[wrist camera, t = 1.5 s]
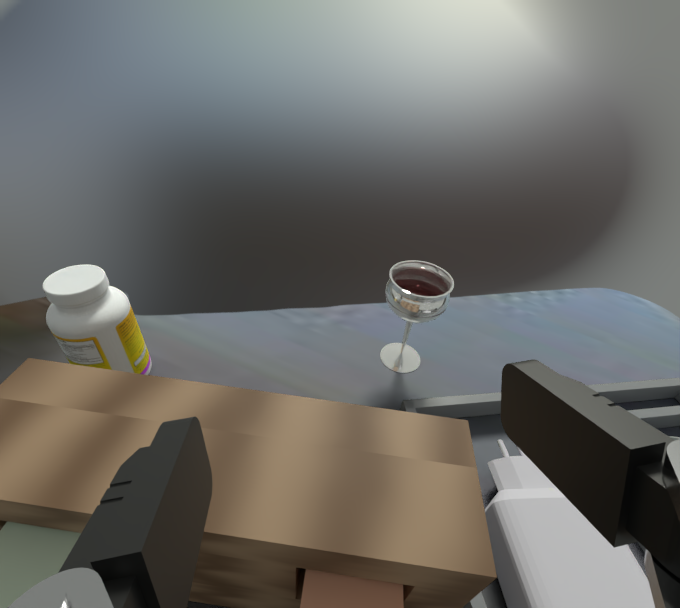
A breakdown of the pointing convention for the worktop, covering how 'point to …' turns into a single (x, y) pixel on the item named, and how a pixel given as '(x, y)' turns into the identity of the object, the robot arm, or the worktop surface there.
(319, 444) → the panel
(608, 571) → the charger
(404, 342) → the wineglass
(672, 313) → the worktop surface
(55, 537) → the button sage
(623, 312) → the worktop surface
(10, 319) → the worktop surface
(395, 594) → the button terracotta
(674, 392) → the counter rail frame
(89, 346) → the supplement bottle
